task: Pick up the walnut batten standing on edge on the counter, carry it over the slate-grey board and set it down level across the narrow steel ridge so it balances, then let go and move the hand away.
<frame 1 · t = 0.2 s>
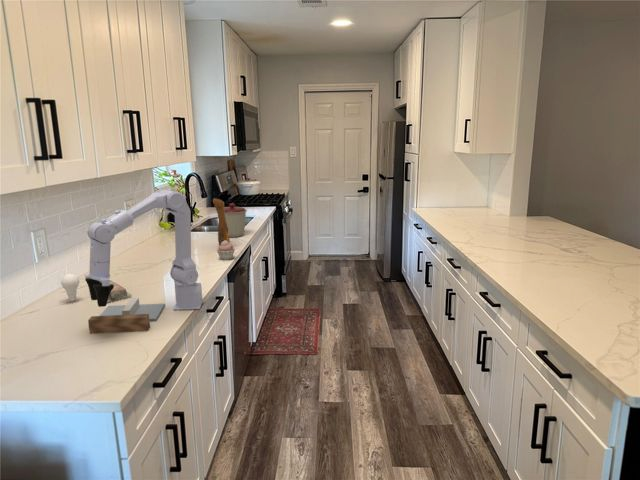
hand: (98, 302, 139), 10 cm above the countertop, tool pointing down, fingers open, 7 cm apart
walnut batten: (120, 331, 143), on the countertop
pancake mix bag: (223, 247, 250), on the countertop
ridge board: (131, 314, 156), on the countertop
canister: (233, 236, 279), on the countertop
cupcake: (226, 259, 227), on the countertop
packaged product: (110, 296, 175), on the countertop
lightbulb: (73, 301, 168), on the countertop
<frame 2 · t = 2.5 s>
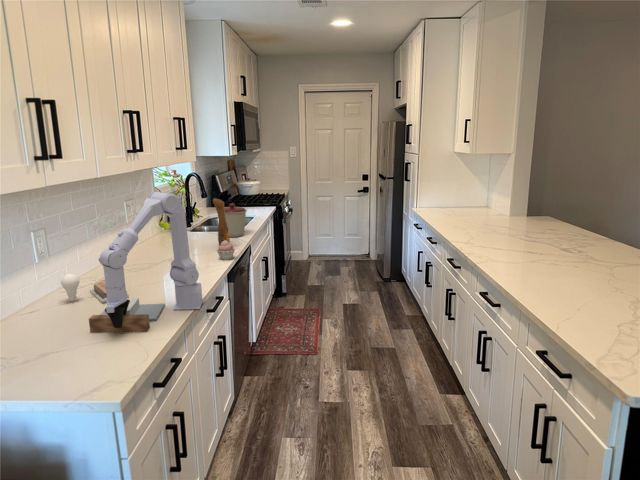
hand: (119, 324, 143), 2 cm above the countertop, tool pointing down, fingers closed on walnut batten, 3 cm apart
walnut batten: (120, 330, 143), on the countertop, touching gripper
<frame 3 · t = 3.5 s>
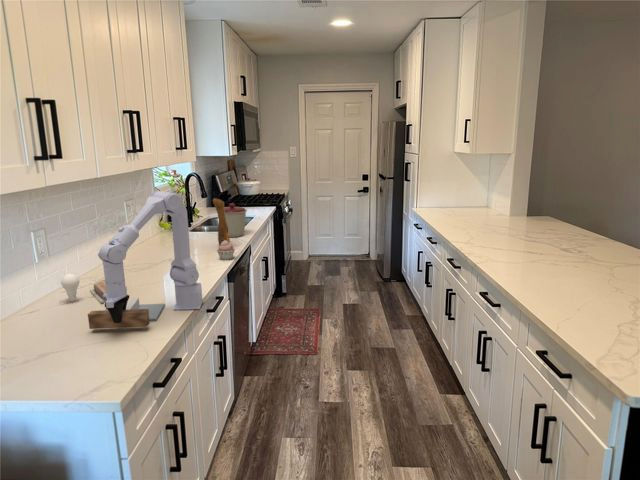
hand: (119, 320, 143), 4 cm above the countertop, tool pointing down, fingers closed on walnut batten, 3 cm apart
walnut batten: (120, 325, 143), point 2 cm above the countertop, touching gripper
everything else where it was.
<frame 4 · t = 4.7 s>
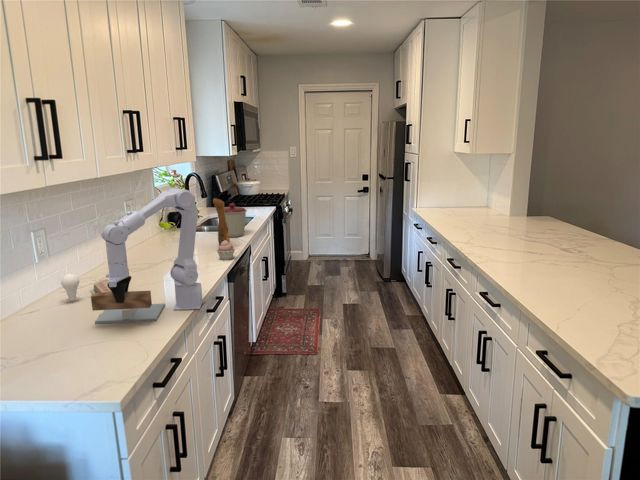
hand: (121, 300, 145), 9 cm above the countertop, tool pointing down, fingers closed on walnut batten, 3 cm apart
walnut batten: (122, 307, 146), point 6 cm above the countertop, touching gripper
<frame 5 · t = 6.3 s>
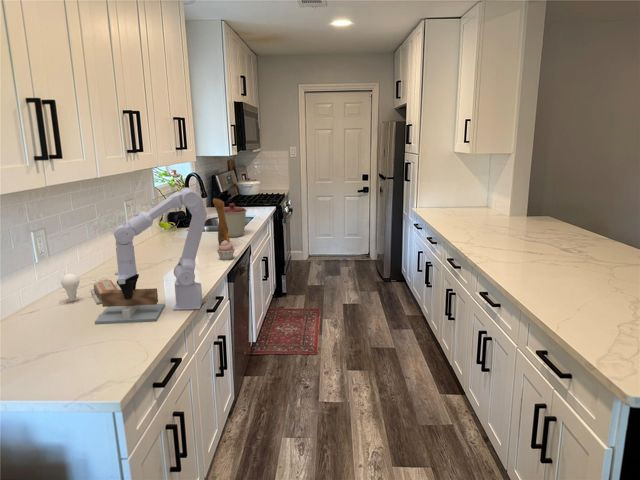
hand: (129, 296, 154), 7 cm above the countertop, tool pointing down, fingers closed on walnut batten, 3 cm apart
walnut batten: (130, 304, 155), point 4 cm above the countertop, touching gripper, ridge board
when the fingers open (7 cm above the countertop, at t = 7.0 s): walnut batten stays where it is, resting on ridge board.
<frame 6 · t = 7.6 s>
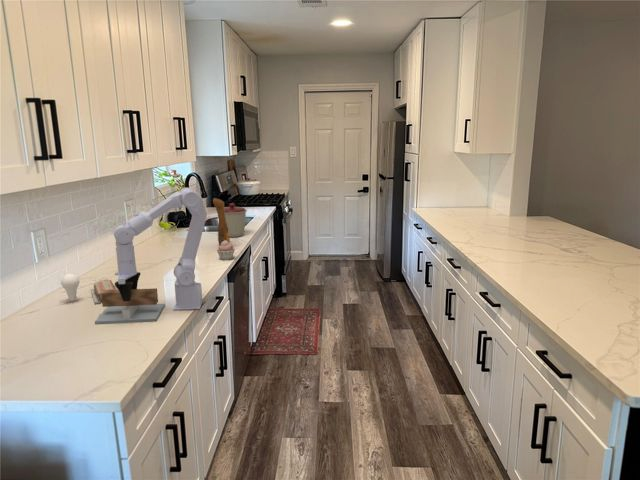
hand: (129, 296, 154), 7 cm above the countertop, tool pointing down, fingers open, 7 cm apart
walnut batten: (130, 304, 155), point 4 cm above the countertop, touching ridge board
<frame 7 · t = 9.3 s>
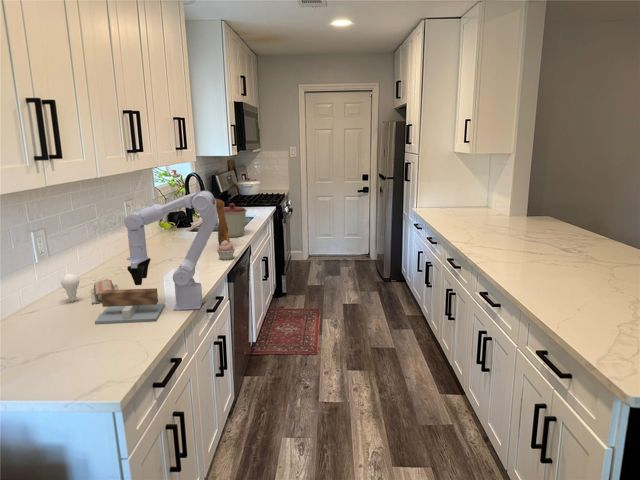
hand: (141, 281, 160), 10 cm above the countertop, tool pointing down, fingers open, 7 cm apart
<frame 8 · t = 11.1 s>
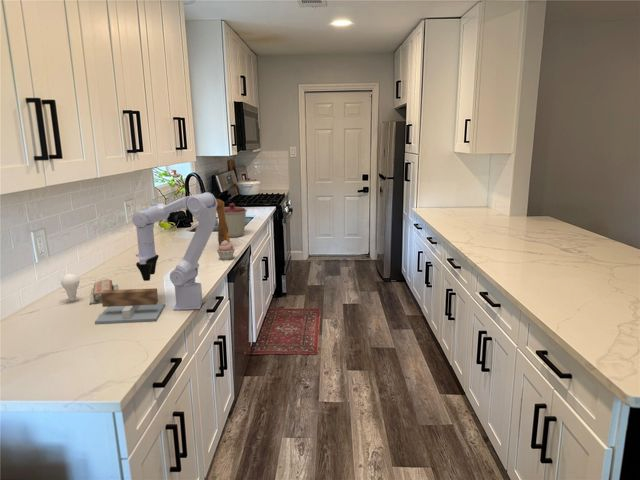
hand: (149, 277, 166), 10 cm above the countertop, tool pointing down, fingers open, 7 cm apart
at the end: walnut batten 0.1 cm off-centre on the ridge board, point 4.0 cm above the ridge board's base; walnut batten tilted 0°; the gripper is holding nothing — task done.
